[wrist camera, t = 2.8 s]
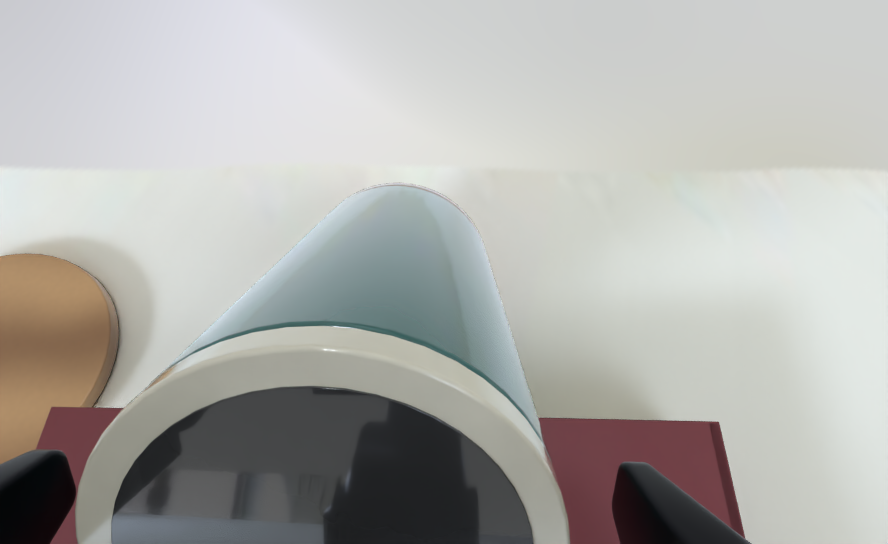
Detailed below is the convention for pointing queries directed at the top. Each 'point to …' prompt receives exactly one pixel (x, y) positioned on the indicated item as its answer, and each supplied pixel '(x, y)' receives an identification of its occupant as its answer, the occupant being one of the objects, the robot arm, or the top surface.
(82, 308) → the coaster
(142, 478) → the pencil cup
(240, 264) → the top surface
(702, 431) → the book
